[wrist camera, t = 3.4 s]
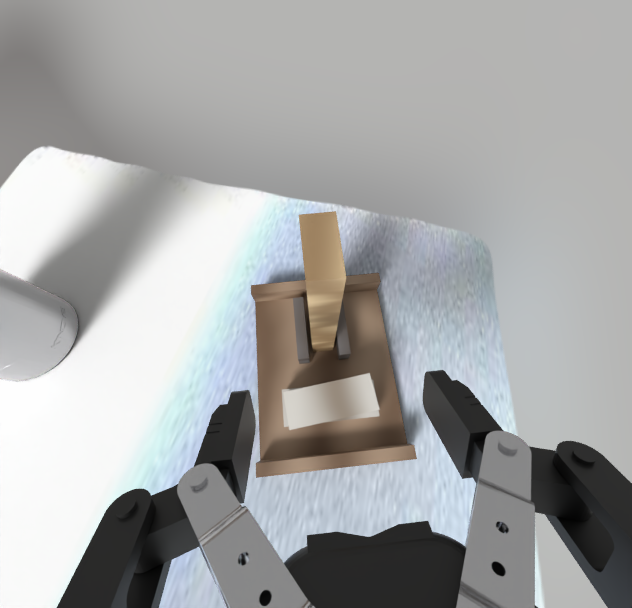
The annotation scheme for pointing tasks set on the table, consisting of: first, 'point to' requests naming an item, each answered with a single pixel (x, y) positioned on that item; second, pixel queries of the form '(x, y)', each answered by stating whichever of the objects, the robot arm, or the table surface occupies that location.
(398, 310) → the table surface
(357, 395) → the upper offcut
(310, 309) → the oak slat
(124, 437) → the table surface
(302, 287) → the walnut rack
